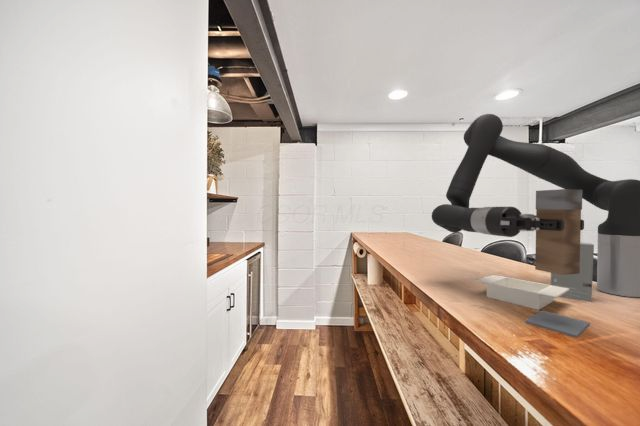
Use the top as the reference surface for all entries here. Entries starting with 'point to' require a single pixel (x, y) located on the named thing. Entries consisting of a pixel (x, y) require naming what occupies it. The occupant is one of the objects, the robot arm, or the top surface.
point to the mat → (558, 323)
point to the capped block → (559, 246)
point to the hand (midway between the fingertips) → (572, 225)
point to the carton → (521, 291)
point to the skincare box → (578, 276)
